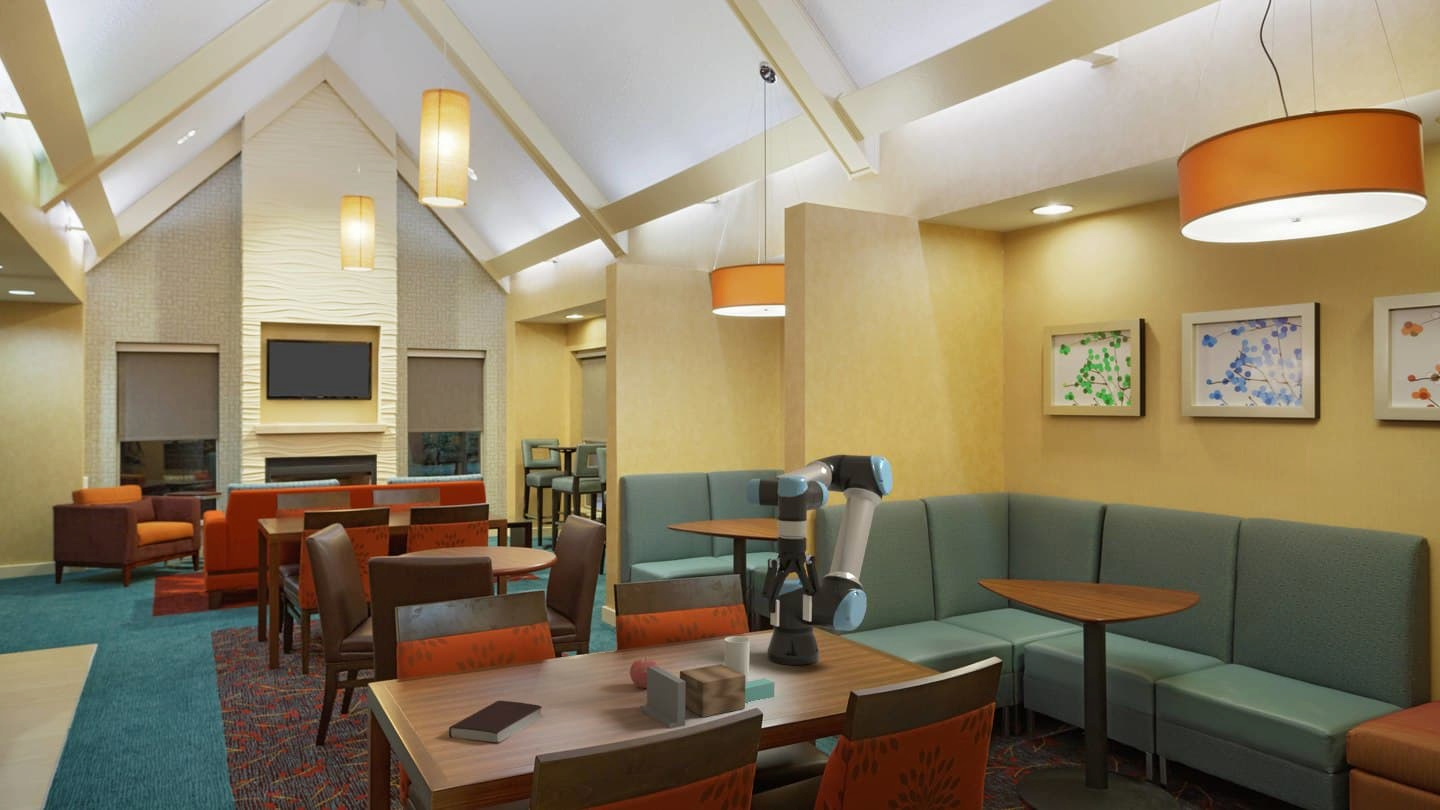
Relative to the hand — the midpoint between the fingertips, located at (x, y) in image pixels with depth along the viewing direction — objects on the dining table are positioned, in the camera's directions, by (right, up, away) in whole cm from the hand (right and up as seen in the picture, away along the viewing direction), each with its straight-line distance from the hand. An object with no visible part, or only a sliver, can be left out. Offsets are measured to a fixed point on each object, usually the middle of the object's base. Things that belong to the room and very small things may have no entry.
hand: (791, 622), depth 232 cm
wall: (-31, -17, -20) cm, 41 cm away
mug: (-15, -18, +6) cm, 24 cm away
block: (-20, -17, -13) cm, 30 cm away
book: (-69, -18, -27) cm, 77 cm away
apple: (-38, -17, +2) cm, 42 cm away
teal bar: (-11, -18, -7) cm, 22 cm away
